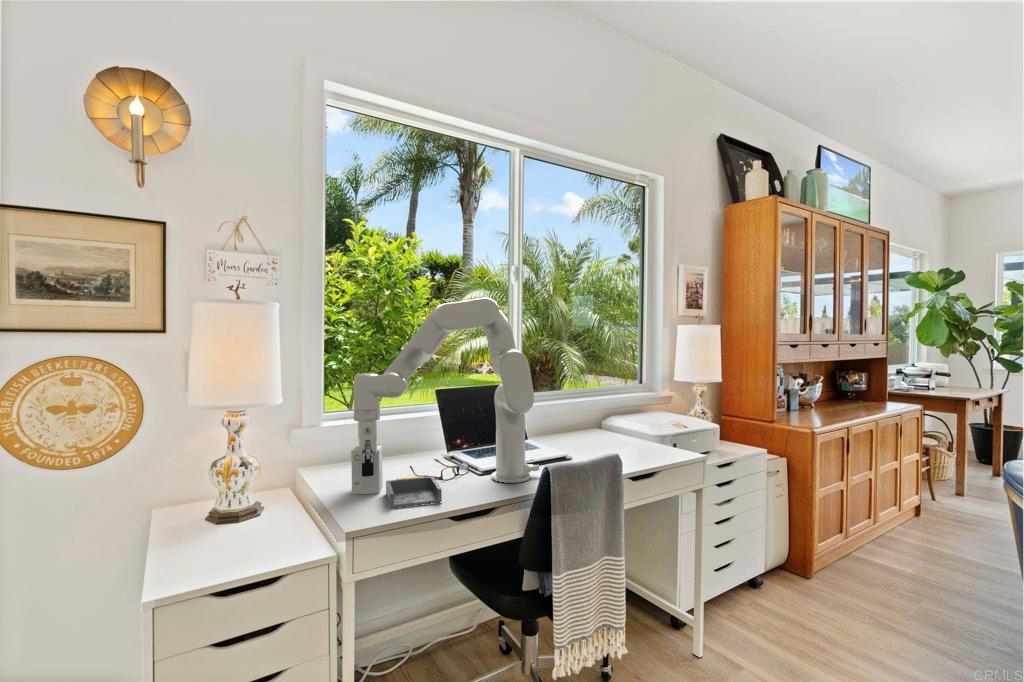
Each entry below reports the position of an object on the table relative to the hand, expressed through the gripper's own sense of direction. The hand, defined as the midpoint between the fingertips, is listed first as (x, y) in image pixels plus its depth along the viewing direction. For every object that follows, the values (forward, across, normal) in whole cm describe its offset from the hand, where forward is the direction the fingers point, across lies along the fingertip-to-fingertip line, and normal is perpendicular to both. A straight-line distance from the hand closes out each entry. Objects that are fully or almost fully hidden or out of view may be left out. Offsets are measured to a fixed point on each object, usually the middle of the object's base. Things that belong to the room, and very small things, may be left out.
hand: (366, 471), depth 152 cm
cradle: (+6, -12, -12) cm, 18 cm away
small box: (+6, 0, 0) cm, 6 cm away
